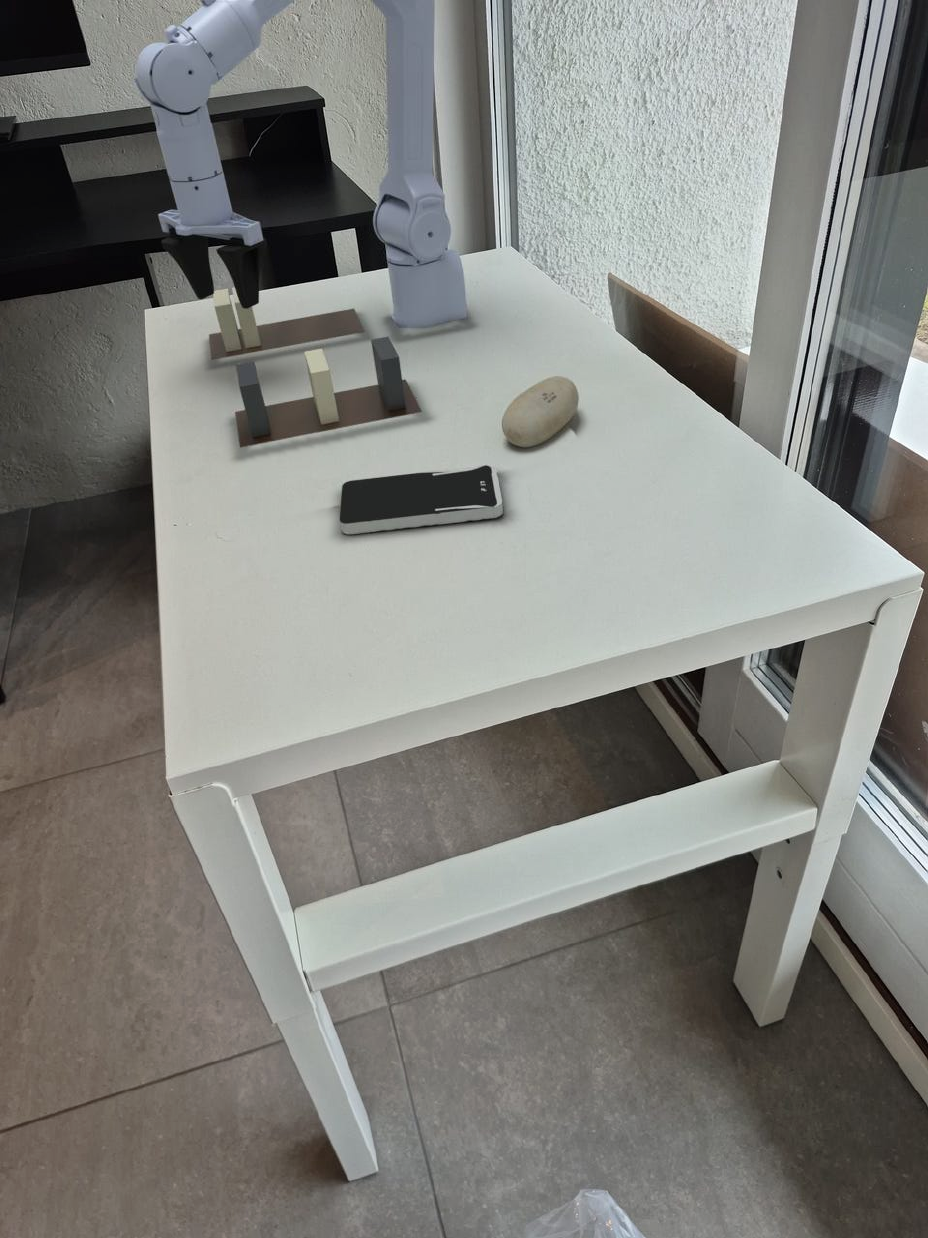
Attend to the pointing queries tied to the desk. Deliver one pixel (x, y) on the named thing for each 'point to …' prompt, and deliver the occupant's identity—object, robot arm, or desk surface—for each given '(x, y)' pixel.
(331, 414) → the cream book
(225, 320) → the cream books
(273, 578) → the desk surface
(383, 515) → the smartphone
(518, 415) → the stone
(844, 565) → the desk surface
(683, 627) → the desk surface
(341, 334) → the shelf
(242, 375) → the grey books
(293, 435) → the shelf
